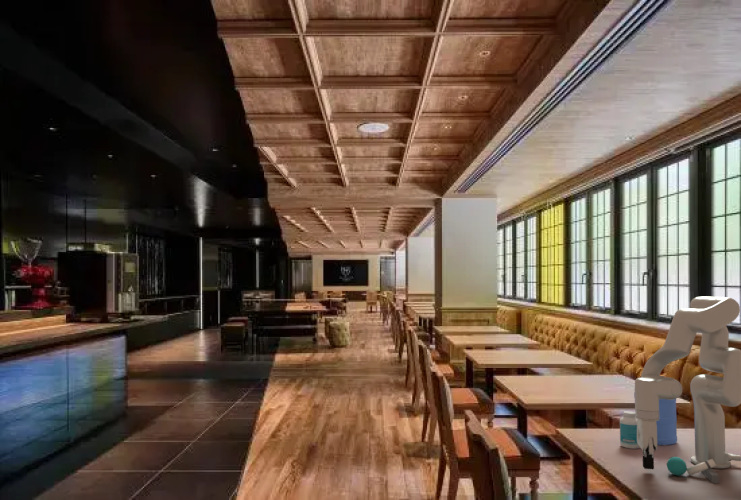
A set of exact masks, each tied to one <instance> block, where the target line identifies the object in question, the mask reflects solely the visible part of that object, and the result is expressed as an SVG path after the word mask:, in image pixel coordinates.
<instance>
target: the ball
mask: <svg viewBox="0 0 741 500" xmlns="http://www.w3.org/2000/svg"><path fill="white" fill-rule="evenodd" d="M666 467H667V468H666V469H667V470H668V472H669V473H670V474H672V475H674V476H682V475H685V473H686V472H687V471H686V470H687V468H688V467H687V464H686V461H685V460H684V459H682V458H681V457H678V456H672V457H670V458H668V460H667V462H666Z"/></svg>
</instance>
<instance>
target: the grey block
mask: <svg viewBox="0 0 741 500" xmlns="http://www.w3.org/2000/svg"><path fill="white" fill-rule="evenodd" d="M700 473H702V474H703V475H704V476H705V477H706V478H707V479H708V480H709V481H710V483H712V484H720V476H719V474H718V473H717V472H716V471H715V470H714V468H710V469H707V470H704V471H701V472H700Z"/></svg>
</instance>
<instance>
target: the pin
mask: <svg viewBox="0 0 741 500" xmlns="http://www.w3.org/2000/svg"><path fill="white" fill-rule="evenodd" d="M715 466H716V464H715V462H714V461H713V459H710V460H707V461H704V462H702V463H700V464H694V465H692V466H689V467H687V470H686V472H687V474H688V476H689V477H690V476H693V475H695V474H698V473H702V472H701V471H704V470H707V469H710V468H711V469H713V468H712V467H715Z"/></svg>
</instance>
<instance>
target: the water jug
mask: <svg viewBox="0 0 741 500" xmlns="http://www.w3.org/2000/svg"><path fill="white" fill-rule="evenodd" d="M633 395H634V397H633V398H634V399H635V391H634V394H633ZM677 418H678V417H677V398H676V399H673V400H667V399H659V420H658V421H656V424H657V446H672V445H675V444H677V443H678V436H677V434H678V432H677V428H678V427H677V421H678V419H677Z"/></svg>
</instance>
